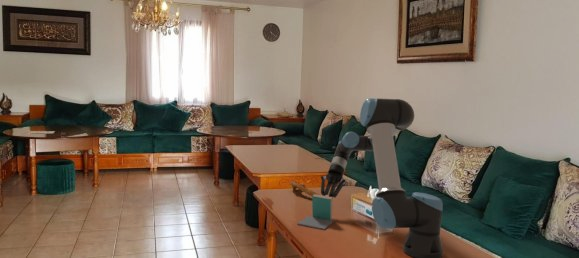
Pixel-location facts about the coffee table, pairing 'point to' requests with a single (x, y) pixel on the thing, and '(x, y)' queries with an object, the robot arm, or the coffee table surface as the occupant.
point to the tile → (322, 206)
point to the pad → (315, 222)
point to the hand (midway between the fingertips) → (323, 208)
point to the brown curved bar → (302, 188)
